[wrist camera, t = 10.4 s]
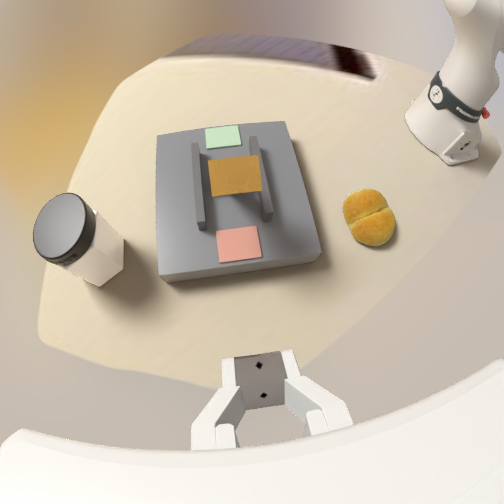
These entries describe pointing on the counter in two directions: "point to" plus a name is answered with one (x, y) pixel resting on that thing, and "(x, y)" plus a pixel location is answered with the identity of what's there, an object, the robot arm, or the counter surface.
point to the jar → (78, 239)
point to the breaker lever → (234, 175)
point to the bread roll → (369, 217)
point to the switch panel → (230, 205)
